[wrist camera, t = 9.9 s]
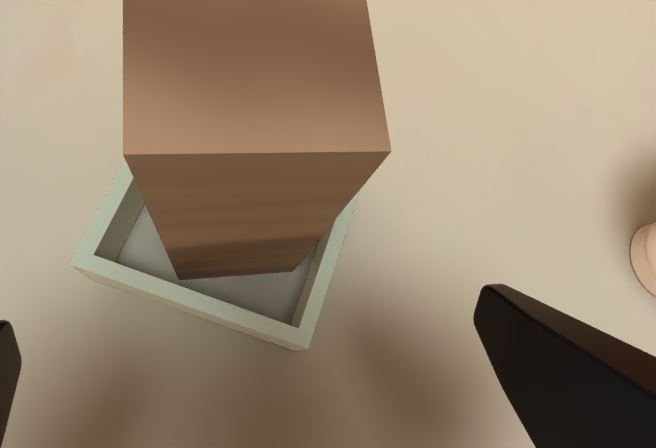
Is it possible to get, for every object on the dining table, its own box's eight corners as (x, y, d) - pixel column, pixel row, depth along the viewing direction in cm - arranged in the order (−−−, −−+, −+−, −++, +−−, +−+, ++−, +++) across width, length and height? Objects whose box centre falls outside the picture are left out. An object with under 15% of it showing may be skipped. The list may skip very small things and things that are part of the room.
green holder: (295, 351, 20) (308, 348, 18) (89, 278, 19) (68, 264, 17) (354, 173, 24) (373, 147, 21) (180, 102, 23) (175, 65, 20)
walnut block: (292, 271, 21) (391, 151, 9) (179, 280, 20) (123, 154, 8) (282, 170, 23) (358, -50, 11) (175, 173, 22) (122, -73, 9)
